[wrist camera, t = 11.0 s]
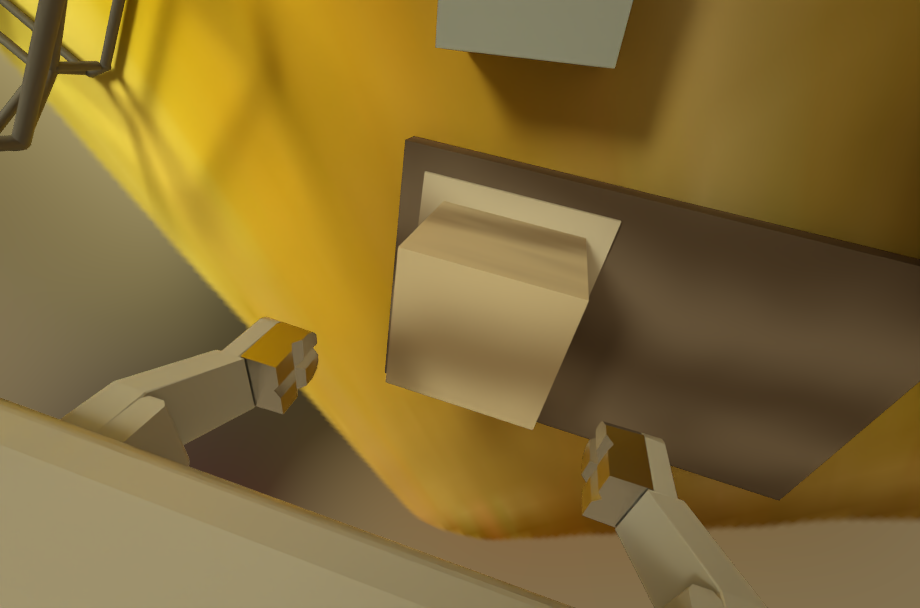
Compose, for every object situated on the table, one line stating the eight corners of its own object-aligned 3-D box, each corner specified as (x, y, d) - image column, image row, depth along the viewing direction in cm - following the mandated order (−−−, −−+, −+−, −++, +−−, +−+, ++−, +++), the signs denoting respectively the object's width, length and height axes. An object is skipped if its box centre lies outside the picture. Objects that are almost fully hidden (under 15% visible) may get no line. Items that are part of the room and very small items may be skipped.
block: (443, 201, 16) (398, 246, 12) (586, 238, 15) (589, 300, 11) (426, 315, 20) (385, 382, 15) (542, 350, 19) (532, 430, 15)
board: (414, 136, 16) (403, 140, 15) (997, 278, 14) (1028, 294, 13) (391, 362, 23) (383, 374, 23) (771, 483, 21) (780, 503, 20)
